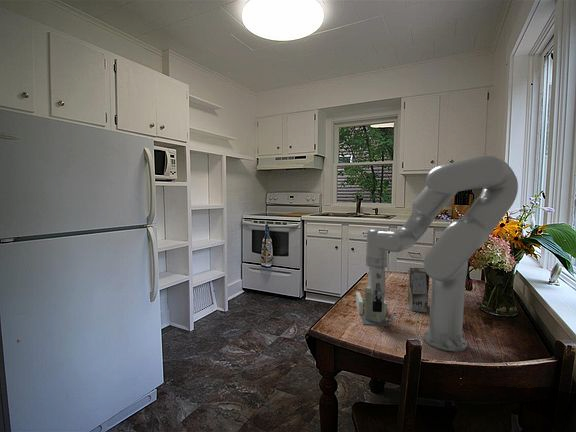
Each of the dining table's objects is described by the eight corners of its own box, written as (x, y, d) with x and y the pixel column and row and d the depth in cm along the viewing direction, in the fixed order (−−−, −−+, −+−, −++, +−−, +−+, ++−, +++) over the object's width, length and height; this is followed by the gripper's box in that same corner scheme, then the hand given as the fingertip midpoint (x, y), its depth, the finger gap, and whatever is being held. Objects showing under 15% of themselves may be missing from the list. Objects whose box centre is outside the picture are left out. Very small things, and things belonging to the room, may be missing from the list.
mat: (389, 326, 111) (389, 325, 111) (363, 324, 112) (363, 323, 112) (384, 316, 120) (384, 315, 120) (360, 314, 121) (360, 313, 121)
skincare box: (384, 319, 115) (385, 288, 115) (379, 323, 112) (380, 290, 111) (368, 315, 120) (369, 284, 119) (363, 318, 116) (364, 287, 115)
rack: (386, 315, 120) (386, 303, 120) (358, 314, 121) (359, 302, 121) (380, 304, 133) (380, 293, 132) (355, 303, 134) (356, 291, 133)
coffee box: (428, 312, 124) (430, 273, 123) (411, 311, 125) (413, 272, 124) (422, 304, 133) (424, 267, 132) (407, 303, 134) (408, 267, 133)
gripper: (391, 268, 105) (389, 316, 106) (382, 257, 122) (381, 299, 124) (369, 267, 106) (367, 315, 107) (363, 256, 123) (362, 298, 124)
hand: (374, 306), depth 115 cm, fingers open, 9 cm apart
